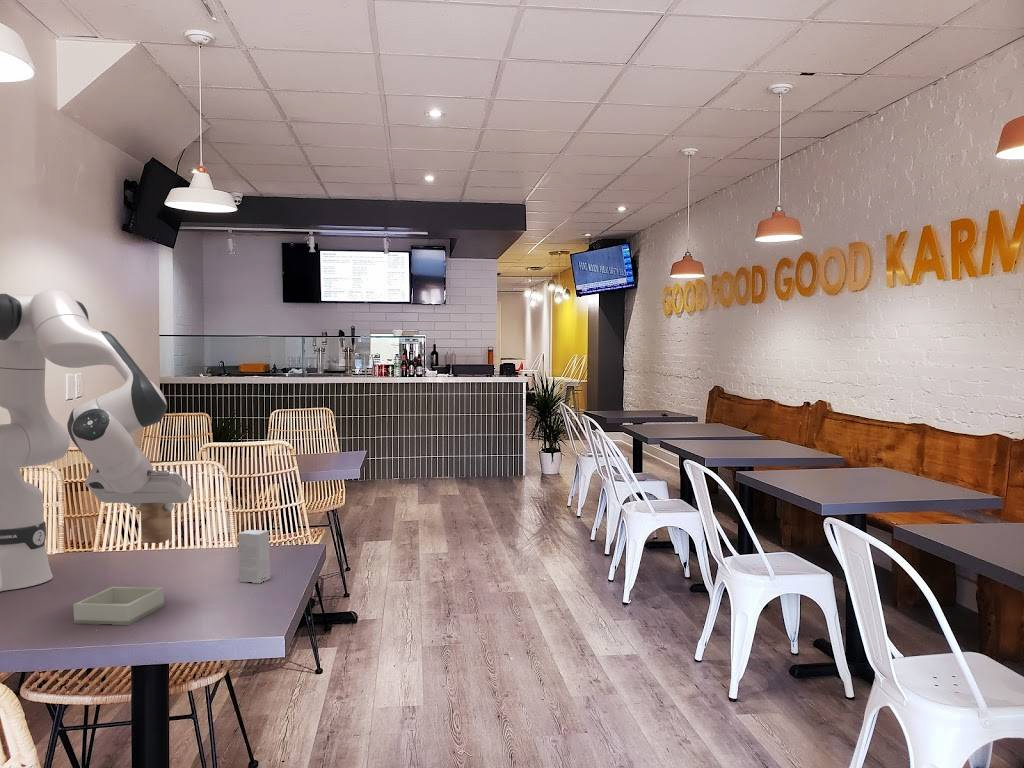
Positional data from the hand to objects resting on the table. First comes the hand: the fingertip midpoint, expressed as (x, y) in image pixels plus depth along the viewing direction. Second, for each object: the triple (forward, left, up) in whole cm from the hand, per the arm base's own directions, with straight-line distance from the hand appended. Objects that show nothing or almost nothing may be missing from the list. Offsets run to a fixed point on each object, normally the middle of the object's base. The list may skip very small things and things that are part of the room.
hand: (157, 509), depth 165 cm
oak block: (0, -1, -7) cm, 7 cm away
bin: (-3, -10, -20) cm, 23 cm away
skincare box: (+14, +16, -21) cm, 30 cm away
